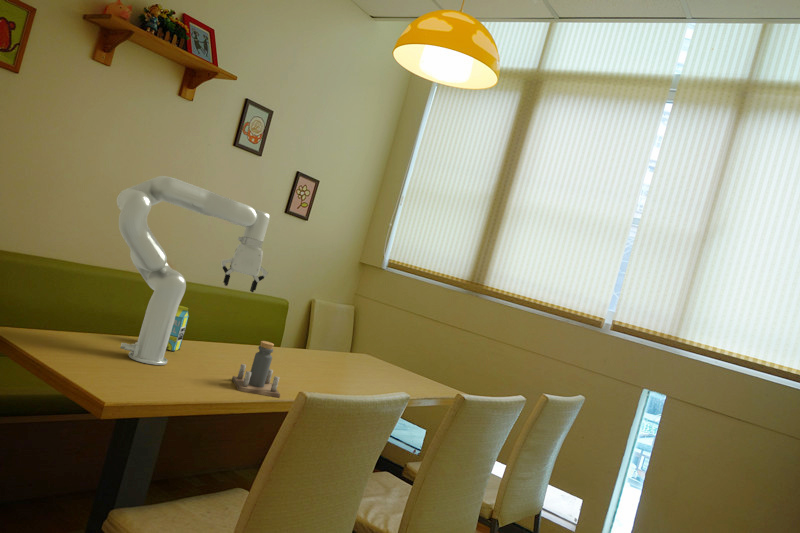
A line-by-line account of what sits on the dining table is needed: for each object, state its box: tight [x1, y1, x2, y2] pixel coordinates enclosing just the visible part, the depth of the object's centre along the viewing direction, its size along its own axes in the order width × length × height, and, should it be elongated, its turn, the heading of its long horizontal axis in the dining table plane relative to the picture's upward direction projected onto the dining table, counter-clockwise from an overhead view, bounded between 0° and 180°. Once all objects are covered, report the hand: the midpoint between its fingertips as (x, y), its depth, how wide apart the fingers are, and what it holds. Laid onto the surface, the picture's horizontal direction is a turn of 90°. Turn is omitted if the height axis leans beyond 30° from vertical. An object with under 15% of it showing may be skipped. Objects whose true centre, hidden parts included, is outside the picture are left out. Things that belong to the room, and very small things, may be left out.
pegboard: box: [231, 363, 281, 398], centre depth 212 cm, size 14×14×6 cm
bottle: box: [249, 340, 275, 387], centre depth 212 cm, size 6×6×15 cm
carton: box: [166, 305, 190, 353], centre depth 235 cm, size 7×8×18 cm
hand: (238, 288), depth 225 cm, fingers open, 9 cm apart
